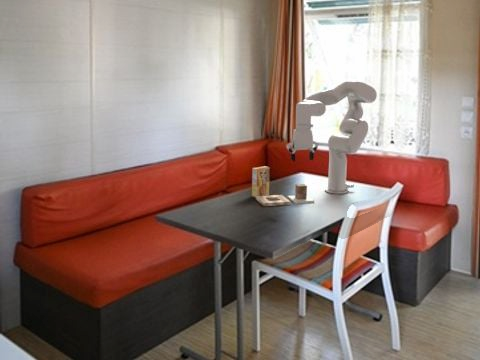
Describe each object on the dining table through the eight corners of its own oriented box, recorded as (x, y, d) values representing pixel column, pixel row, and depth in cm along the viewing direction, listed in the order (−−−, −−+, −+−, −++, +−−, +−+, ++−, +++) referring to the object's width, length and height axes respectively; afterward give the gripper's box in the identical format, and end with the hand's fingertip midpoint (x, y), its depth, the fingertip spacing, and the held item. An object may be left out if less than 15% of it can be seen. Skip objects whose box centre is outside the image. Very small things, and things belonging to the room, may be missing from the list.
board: (305, 196, 287) (305, 194, 286) (314, 202, 275) (314, 200, 275) (287, 197, 284) (287, 195, 284) (295, 203, 273) (295, 201, 273)
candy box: (264, 193, 292) (264, 165, 288) (269, 195, 289) (270, 167, 285) (251, 196, 286) (251, 167, 283) (256, 197, 283) (257, 169, 280)
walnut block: (303, 196, 282) (303, 183, 281) (306, 199, 278) (306, 185, 276) (295, 197, 281) (295, 184, 280) (298, 199, 277) (298, 186, 275)
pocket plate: (281, 197, 284) (281, 194, 284) (290, 204, 271) (290, 201, 271) (255, 199, 281) (255, 196, 281) (263, 206, 268) (263, 203, 267)
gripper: (316, 125, 278) (315, 158, 282) (284, 126, 274) (283, 160, 278) (322, 127, 271) (320, 161, 275) (289, 128, 267) (288, 163, 271)
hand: (302, 160), depth 276 cm, fingers open, 9 cm apart
